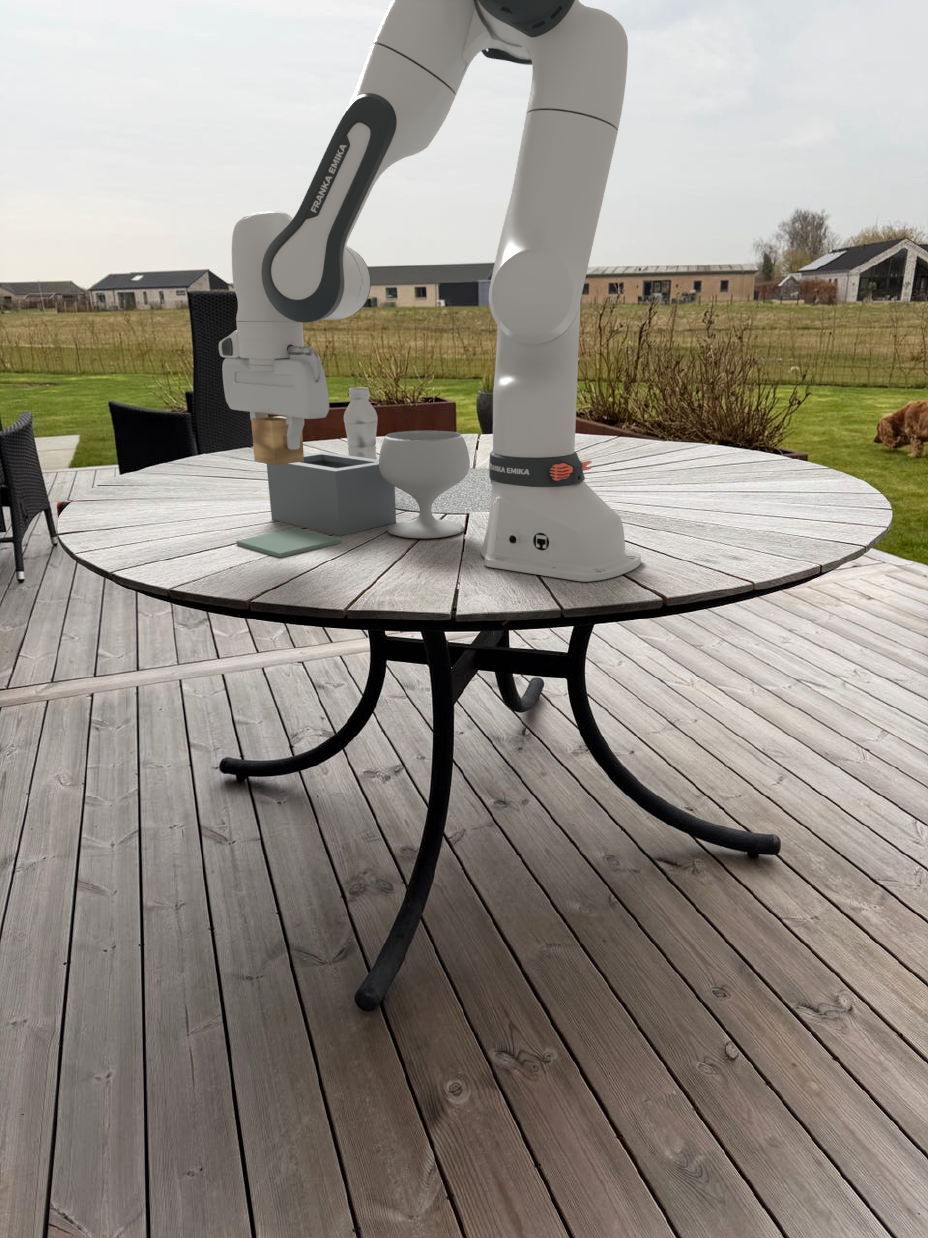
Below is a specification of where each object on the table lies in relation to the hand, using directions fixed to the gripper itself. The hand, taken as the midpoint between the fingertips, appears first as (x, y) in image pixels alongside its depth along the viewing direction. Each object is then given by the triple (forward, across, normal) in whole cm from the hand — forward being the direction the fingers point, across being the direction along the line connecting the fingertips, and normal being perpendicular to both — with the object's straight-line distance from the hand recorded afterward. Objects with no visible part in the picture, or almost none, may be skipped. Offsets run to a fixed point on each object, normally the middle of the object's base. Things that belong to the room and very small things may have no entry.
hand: (278, 446), depth 113 cm
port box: (+14, +6, -14) cm, 21 cm away
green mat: (+14, 0, 0) cm, 14 cm away
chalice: (+14, -10, -19) cm, 26 cm away
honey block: (+2, 0, 0) cm, 2 cm away
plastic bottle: (+14, +20, -33) cm, 42 cm away
